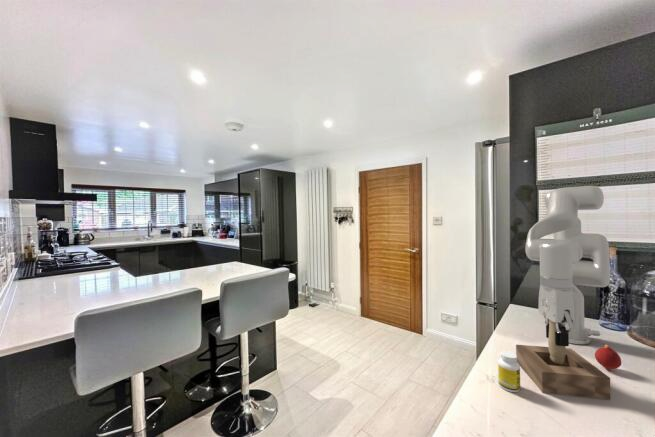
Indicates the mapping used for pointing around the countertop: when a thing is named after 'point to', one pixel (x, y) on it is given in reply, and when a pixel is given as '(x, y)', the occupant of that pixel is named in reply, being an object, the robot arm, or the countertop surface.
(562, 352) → the handle
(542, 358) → the well block
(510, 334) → the countertop surface
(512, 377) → the supplement bottle
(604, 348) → the onion
